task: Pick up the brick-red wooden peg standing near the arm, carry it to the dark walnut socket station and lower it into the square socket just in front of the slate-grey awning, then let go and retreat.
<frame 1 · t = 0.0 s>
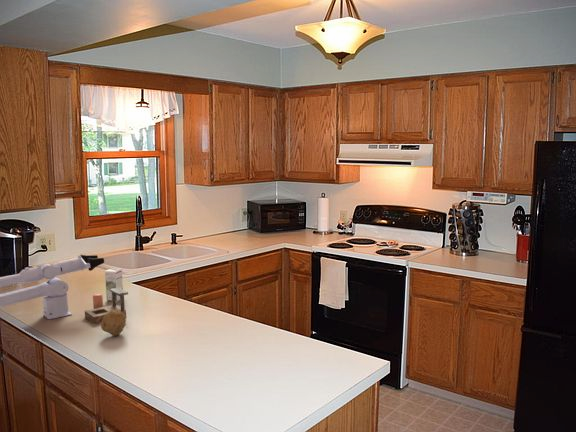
hand: (100, 258, 233), 22 cm above the countertop, tool horizontal, fingers open, 7 cm apart
syrup box: (115, 300, 246), on the countertop
socket station: (107, 316, 221), on the countertop
peg: (98, 310, 230), on the countertop
natural sponge: (114, 336, 199), on the countertop
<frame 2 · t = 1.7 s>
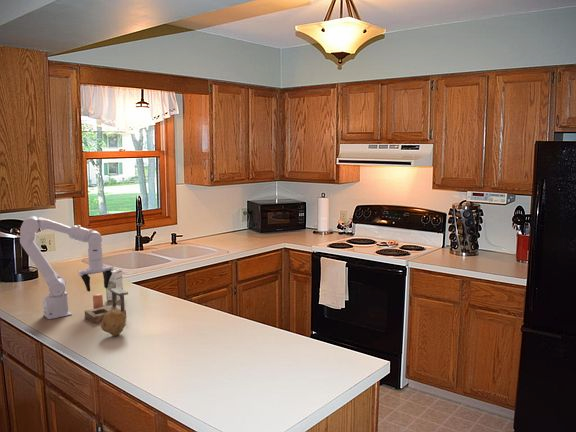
hand: (97, 289, 228), 10 cm above the countertop, tool pointing down, fingers open, 7 cm apart
nothing on the countertop moved.
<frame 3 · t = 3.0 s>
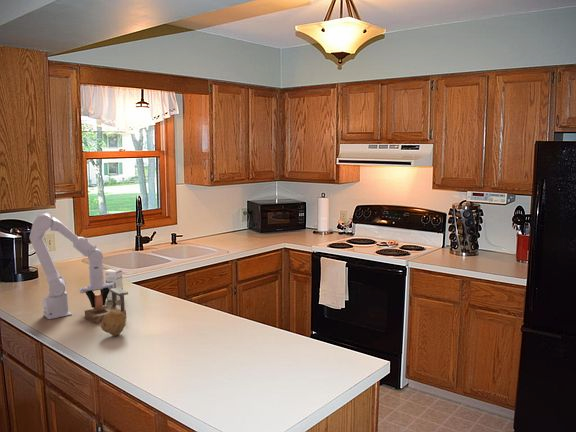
hand: (98, 306, 229), 2 cm above the countertop, tool pointing down, fingers closed on peg, 4 cm apart
peg: (98, 310, 230), on the countertop, touching gripper
everything else where it was.
when the fingers open (4 cm above the countertop, at t = 6.7 s): peg drops 2 cm, resting in socket station.
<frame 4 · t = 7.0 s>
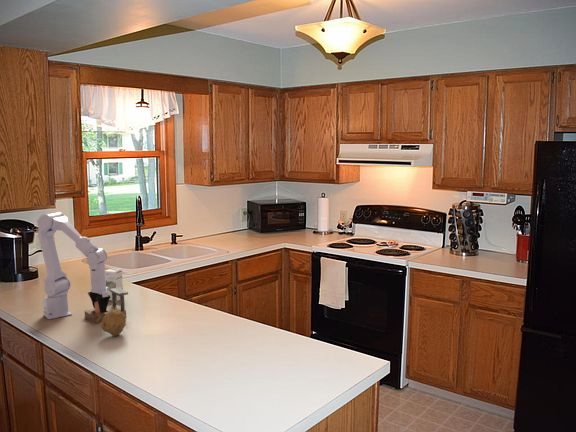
hand: (99, 310, 218), 4 cm above the countertop, tool pointing down, fingers open, 7 cm apart
peg: (100, 318, 219), resting in socket station
everything else where it was.
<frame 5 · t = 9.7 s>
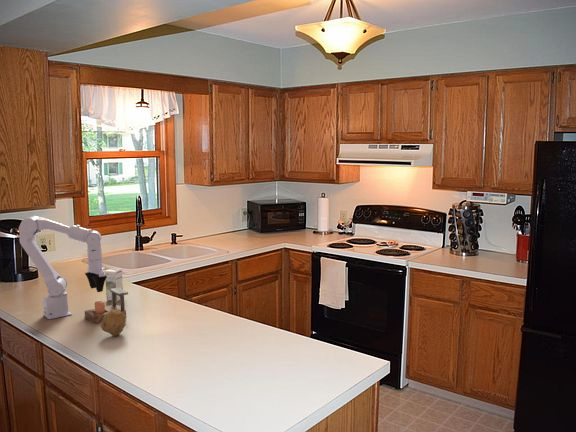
hand: (96, 289, 226), 10 cm above the countertop, tool pointing down, fingers open, 7 cm apart
nothing on the countertop moved.
at the end: peg 0.0 cm from the target spot on the socket station, point 0.0 cm above the socket station's base; peg tilted 0°; the gripper is holding nothing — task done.
